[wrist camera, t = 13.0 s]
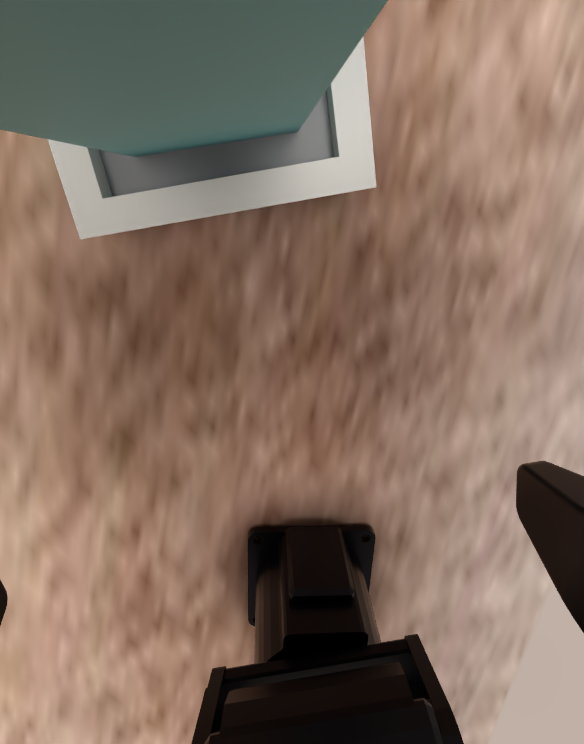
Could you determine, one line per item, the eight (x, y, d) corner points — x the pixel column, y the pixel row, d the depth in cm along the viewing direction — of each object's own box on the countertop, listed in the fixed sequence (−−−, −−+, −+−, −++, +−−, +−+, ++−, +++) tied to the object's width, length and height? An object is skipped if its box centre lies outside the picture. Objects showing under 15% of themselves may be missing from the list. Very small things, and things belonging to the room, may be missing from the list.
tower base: (350, 186, 18) (376, 187, 14) (122, 226, 18) (80, 239, 14) (317, -118, 15) (339, -238, 11) (36, -67, 15) (-53, -165, 11)
